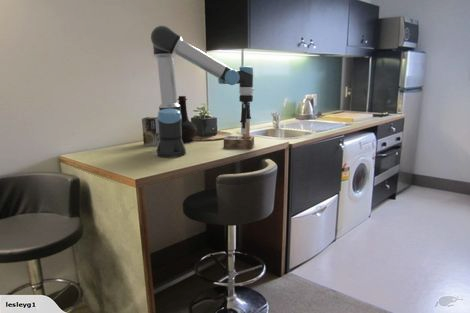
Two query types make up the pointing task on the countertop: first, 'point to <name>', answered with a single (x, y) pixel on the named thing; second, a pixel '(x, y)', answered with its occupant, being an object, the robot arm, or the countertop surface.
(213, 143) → the countertop surface
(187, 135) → the glass bottle
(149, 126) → the coffee box
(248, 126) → the peg
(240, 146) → the socket block
